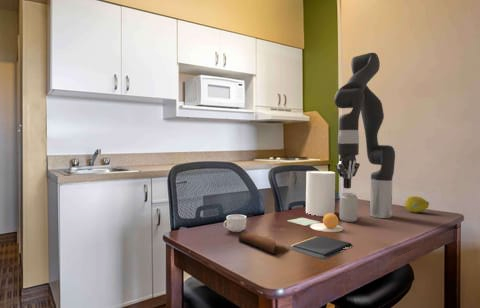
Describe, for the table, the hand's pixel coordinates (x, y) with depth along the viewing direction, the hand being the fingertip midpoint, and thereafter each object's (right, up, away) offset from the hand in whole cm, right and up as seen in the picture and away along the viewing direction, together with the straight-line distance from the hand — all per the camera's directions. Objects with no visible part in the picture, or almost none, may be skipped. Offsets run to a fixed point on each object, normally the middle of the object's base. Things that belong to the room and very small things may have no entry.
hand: (347, 188), depth 124 cm
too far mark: (-13, -16, +17) cm, 27 cm away
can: (+7, -17, +20) cm, 27 cm away
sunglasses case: (-33, -18, -16) cm, 41 cm away
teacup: (-43, -17, +1) cm, 46 cm away
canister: (-2, -16, +35) cm, 38 cm away
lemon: (+47, -16, +39) cm, 63 cm away
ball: (-4, -14, +7) cm, 16 cm away
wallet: (-14, -18, -16) cm, 28 cm away
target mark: (-6, -17, +8) cm, 19 cm away
